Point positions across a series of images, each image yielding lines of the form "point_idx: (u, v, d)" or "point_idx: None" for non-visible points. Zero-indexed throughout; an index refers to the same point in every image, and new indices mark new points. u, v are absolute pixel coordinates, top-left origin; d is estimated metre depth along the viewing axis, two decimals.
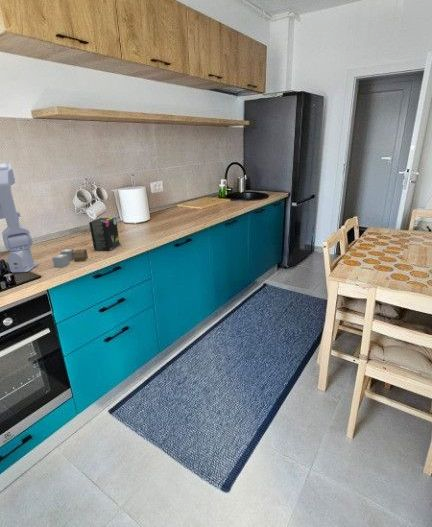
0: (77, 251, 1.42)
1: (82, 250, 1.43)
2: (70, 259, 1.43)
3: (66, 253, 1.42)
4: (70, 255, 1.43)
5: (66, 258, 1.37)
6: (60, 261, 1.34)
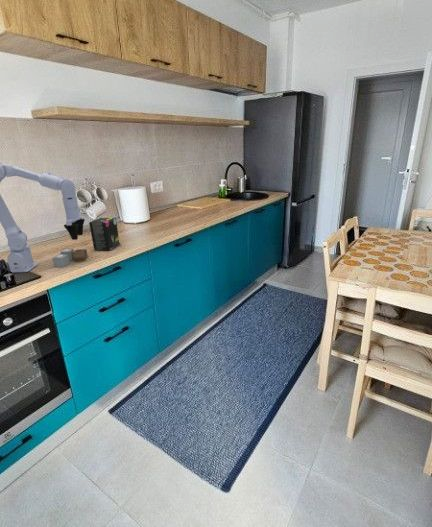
0: (77, 251, 1.42)
1: (82, 250, 1.43)
2: (70, 259, 1.43)
3: (66, 253, 1.42)
4: (70, 255, 1.43)
5: (66, 258, 1.37)
6: (60, 261, 1.34)
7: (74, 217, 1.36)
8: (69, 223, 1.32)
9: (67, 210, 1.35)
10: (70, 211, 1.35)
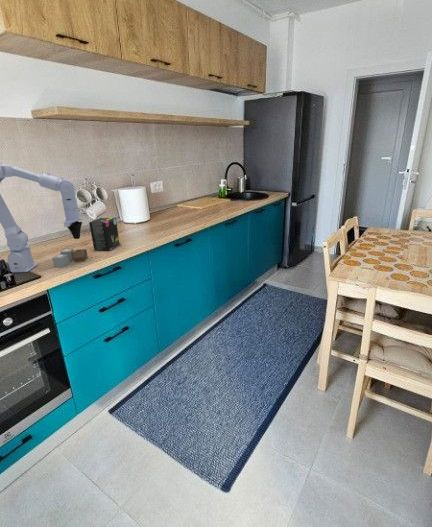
0: (77, 251, 1.42)
1: (82, 250, 1.43)
2: (70, 259, 1.43)
3: (66, 253, 1.42)
4: (70, 255, 1.43)
5: (66, 258, 1.37)
6: (60, 261, 1.34)
7: (73, 218, 1.35)
8: (67, 224, 1.31)
9: (66, 211, 1.33)
10: (69, 212, 1.33)
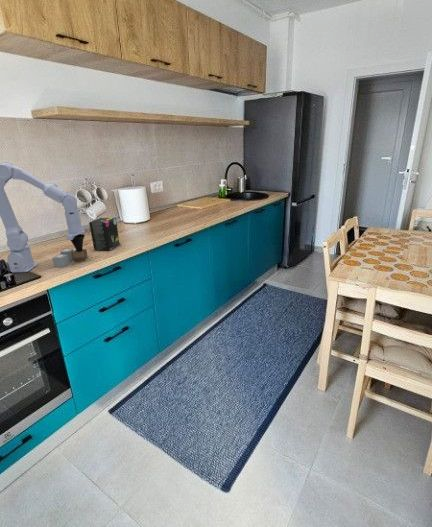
0: (77, 251, 1.42)
1: (82, 250, 1.43)
2: (70, 259, 1.43)
3: (66, 253, 1.42)
4: (70, 255, 1.43)
5: (66, 258, 1.37)
6: (60, 261, 1.34)
7: (76, 231, 1.37)
8: (70, 238, 1.33)
9: (69, 224, 1.36)
10: (72, 226, 1.35)
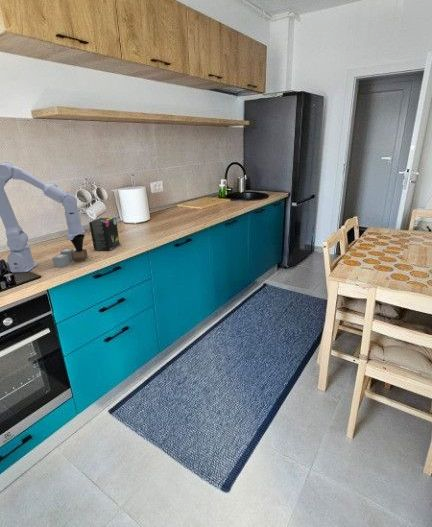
0: (77, 251, 1.42)
1: (82, 250, 1.43)
2: (70, 259, 1.43)
3: (66, 253, 1.42)
4: (70, 255, 1.43)
5: (66, 258, 1.37)
6: (60, 261, 1.34)
7: (76, 231, 1.37)
8: (70, 238, 1.33)
9: (69, 224, 1.36)
10: (72, 226, 1.35)
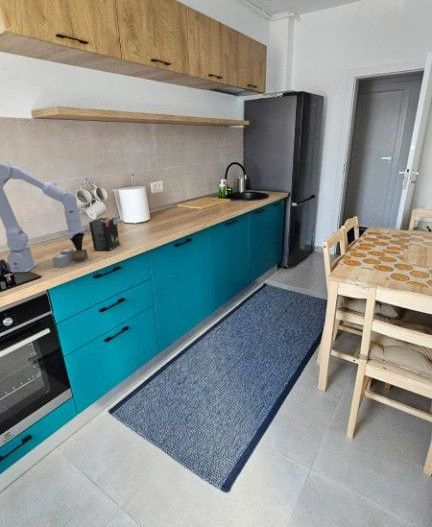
0: (77, 251, 1.42)
1: (82, 250, 1.43)
2: (70, 259, 1.43)
3: (66, 253, 1.42)
4: (70, 255, 1.43)
5: (66, 258, 1.37)
6: (60, 261, 1.34)
7: (75, 230, 1.36)
8: (69, 236, 1.33)
9: (68, 223, 1.35)
10: (71, 224, 1.35)
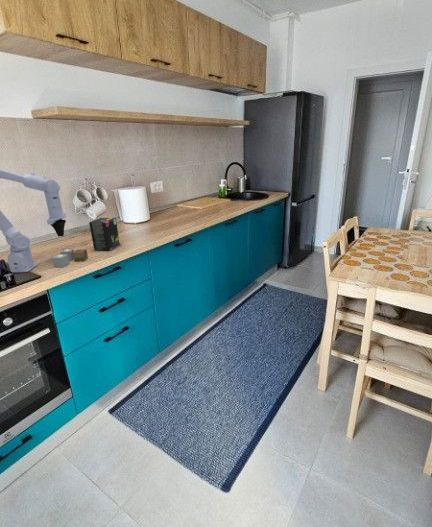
0: (77, 251, 1.42)
1: (82, 250, 1.43)
2: (70, 259, 1.43)
3: (66, 253, 1.42)
4: (70, 255, 1.43)
5: (66, 258, 1.37)
6: (60, 261, 1.34)
7: (56, 216, 1.39)
8: (50, 222, 1.35)
9: (49, 209, 1.38)
10: (52, 210, 1.38)
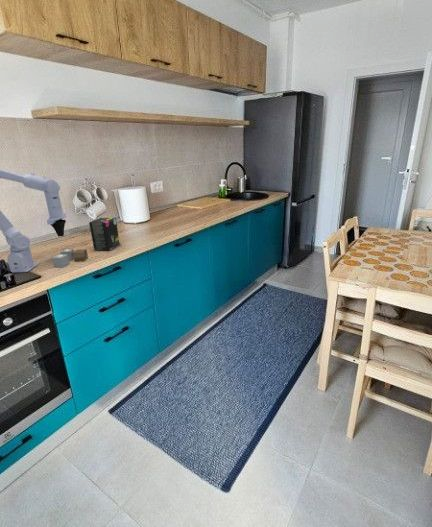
0: (77, 251, 1.42)
1: (82, 250, 1.43)
2: (70, 259, 1.43)
3: (66, 253, 1.42)
4: (70, 255, 1.43)
5: (66, 258, 1.37)
6: (60, 261, 1.34)
7: (56, 216, 1.39)
8: (50, 222, 1.35)
9: (49, 209, 1.38)
10: (52, 210, 1.38)
